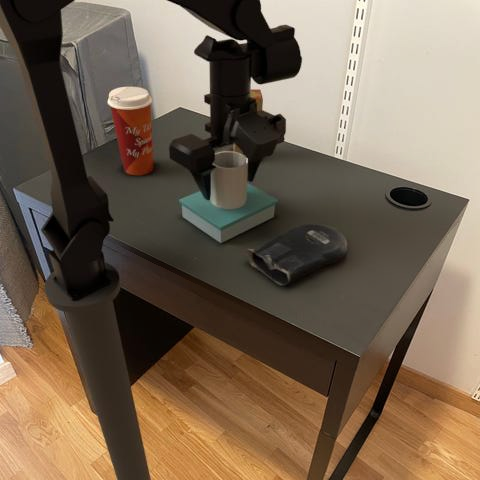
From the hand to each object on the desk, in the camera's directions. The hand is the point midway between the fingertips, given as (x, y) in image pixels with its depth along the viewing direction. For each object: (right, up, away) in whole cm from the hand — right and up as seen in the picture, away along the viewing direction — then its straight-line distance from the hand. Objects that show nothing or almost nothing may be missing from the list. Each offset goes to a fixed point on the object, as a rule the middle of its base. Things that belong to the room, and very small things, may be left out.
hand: (228, 190), depth 78 cm
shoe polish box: (+3, +12, +20) cm, 24 cm away
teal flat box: (0, -4, +3) cm, 5 cm away
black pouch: (+11, -12, -4) cm, 17 cm away
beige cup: (0, -1, +1) cm, 2 cm away
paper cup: (-18, +8, +15) cm, 25 cm away
